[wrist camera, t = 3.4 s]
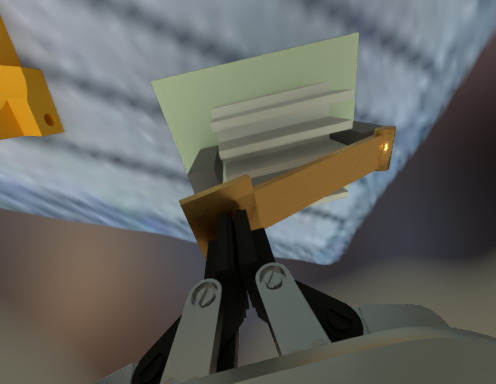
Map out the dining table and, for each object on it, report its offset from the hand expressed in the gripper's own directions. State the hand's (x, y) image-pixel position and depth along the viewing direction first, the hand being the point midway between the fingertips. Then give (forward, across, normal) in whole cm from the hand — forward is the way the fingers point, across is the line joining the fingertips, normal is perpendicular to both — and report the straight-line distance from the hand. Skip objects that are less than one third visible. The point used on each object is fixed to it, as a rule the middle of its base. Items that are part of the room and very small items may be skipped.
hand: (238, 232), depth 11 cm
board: (+17, -6, -1) cm, 18 cm away
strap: (+3, -6, -1) cm, 7 cm away
